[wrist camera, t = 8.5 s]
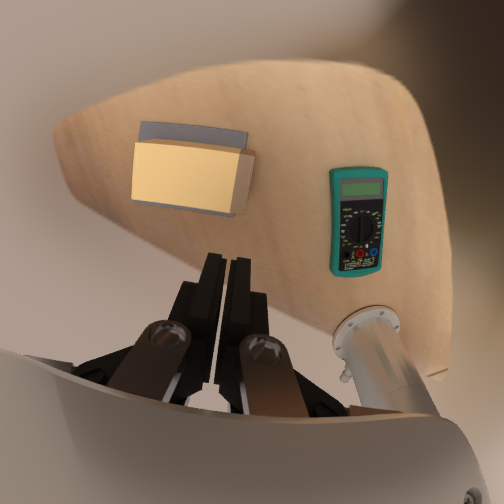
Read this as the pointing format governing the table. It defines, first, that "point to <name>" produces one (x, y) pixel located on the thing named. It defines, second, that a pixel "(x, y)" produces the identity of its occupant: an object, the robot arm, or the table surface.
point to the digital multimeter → (357, 220)
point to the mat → (191, 135)
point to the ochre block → (192, 175)
